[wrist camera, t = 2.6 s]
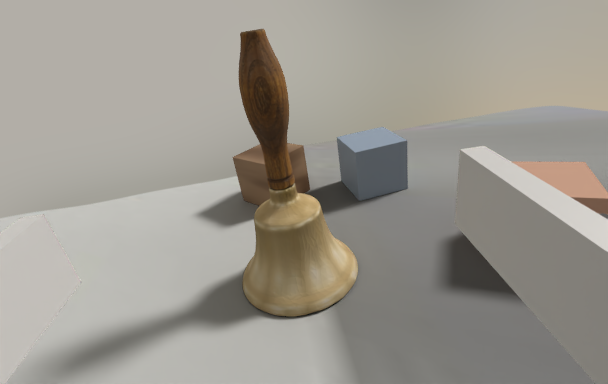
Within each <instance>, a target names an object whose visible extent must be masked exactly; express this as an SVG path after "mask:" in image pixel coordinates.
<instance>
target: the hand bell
mask: <svg viewBox="0 0 608 384" xmlns="http://www.w3.org/2000/svg"><path fill="white" fill-rule="evenodd" d="M240 36H241V52H240V61H239V87H240V92H241V97H242V102H243V105H244V108H245V112H246V115H247V118H248V120H249V122H250V125H251V127H252V129H253V131H254V132H255V134H256V136H257V138H258V140H259V142H260V145H261V148H262V151H263V156H264V162H265V168H266V174H267V177H268V178H267V181H268V186H269V192H270V199H269V200H267V201H266V202H264V203H263V204H261V205H260V206H259V207H258V209H257V210H256V212H255V215H254V223H255V231H256V251H255V255H254V256H253V257H252V259H251V260H250V262H249V263H248V265H247V267H246V269H245V272H244V276H243V291H244V293H245V296H246V297H247V299H248V300H249V301H250V303H251V304H252V305H254V306H255V307H256V308H258V309H260V310H262V311H264V312H267V313H270V314H273V315H279V316H300V315H307V314H309V313H313V312H316V311H320V310H323V309H325V308H327V307H329V306H331V305H332V304H334V303H336V302H337V301H339V300H340V299H342V298H343V297H344V296H345V295H346V294H347V293H348V291H349V290H350V289H351V287H352V286H353V284H354V283H355V281H356V278H357V274H358V264H357V260H356V258H355V256H354V254H353V253H352V251H351V250H350V249H349V248H348V247H347V246H346V245H345V244H344V243H342V242H341V241H339V240H337V239H335V238H334V237H333V236H332V234H331V233H330V231H329V229H328V227H327V224H326V222H325V219H324V216H323V213H322V209H321V206H320V203H319V202H318V200H317V199H315V198H314V197H312V196H310V195H307V194H302V193H297V190H296V186H295V183H294V182H295V178H294V175H293V173H292V172H293V171H292V166H291V161H290V157H289V152H288V147H287V129H288V122H289V103H288V93H287V87H286V82H285V77H284V75H283V71H282V69H281V66H280V64H279V62H278V59H277V58H276V56H275V54H274V52H273V50H272V48H271V46H270V43H269V41H268V39H267V36H266V33H265V30H264V29H258V30H252V31H246V32H241V34H240Z"/></svg>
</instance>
